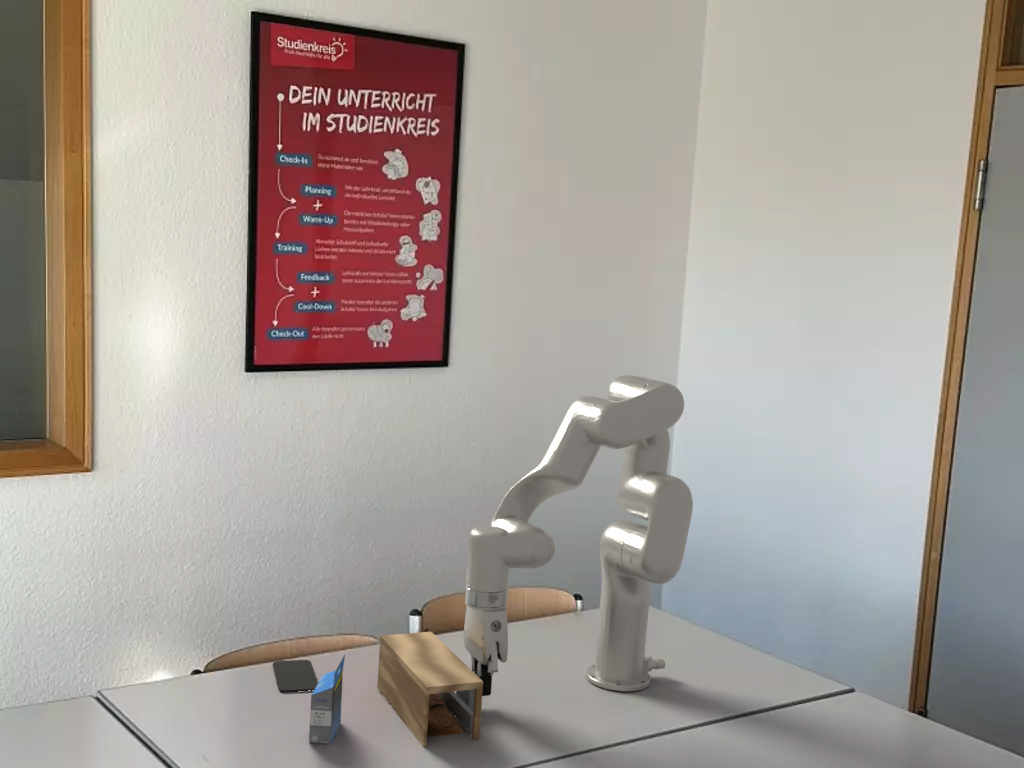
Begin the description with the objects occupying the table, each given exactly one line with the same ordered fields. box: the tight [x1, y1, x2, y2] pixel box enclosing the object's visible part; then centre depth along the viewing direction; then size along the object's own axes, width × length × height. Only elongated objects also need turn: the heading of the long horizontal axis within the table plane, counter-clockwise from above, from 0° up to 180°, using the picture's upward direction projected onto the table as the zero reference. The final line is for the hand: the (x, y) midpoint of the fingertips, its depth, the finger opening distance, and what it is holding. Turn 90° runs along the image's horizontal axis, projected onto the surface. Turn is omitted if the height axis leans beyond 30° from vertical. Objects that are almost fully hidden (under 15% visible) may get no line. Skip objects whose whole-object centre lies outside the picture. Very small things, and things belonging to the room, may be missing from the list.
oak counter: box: [376, 631, 483, 748], centre depth 196 cm, size 10×25×10 cm, turn 24°
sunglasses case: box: [427, 693, 464, 738], centre depth 196 cm, size 18×7×7 cm, turn 22°
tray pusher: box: [437, 689, 475, 734], centre depth 199 cm, size 4×20×5 cm, turn 24°
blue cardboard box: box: [308, 653, 346, 745], centre depth 185 cm, size 9×4×12 cm, turn 178°
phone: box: [272, 659, 319, 694], centre depth 209 cm, size 7×1×15 cm
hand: (481, 694), depth 201 cm, fingers closed
